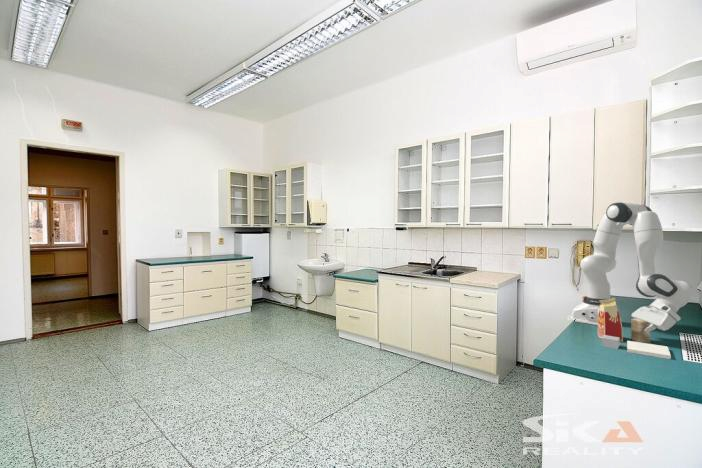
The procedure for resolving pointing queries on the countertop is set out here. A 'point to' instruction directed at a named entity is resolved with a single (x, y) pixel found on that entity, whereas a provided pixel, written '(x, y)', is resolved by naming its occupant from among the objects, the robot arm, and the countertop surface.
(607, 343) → the grey plastic box
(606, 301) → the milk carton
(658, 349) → the off-white board
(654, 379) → the countertop surface
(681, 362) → the countertop surface
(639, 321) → the maple block
